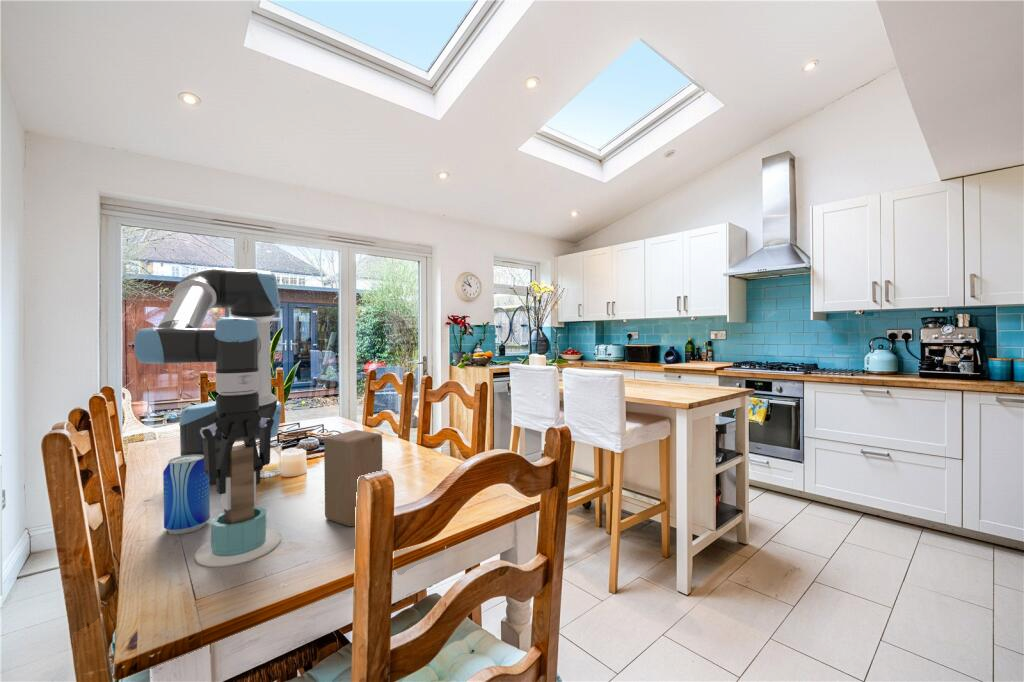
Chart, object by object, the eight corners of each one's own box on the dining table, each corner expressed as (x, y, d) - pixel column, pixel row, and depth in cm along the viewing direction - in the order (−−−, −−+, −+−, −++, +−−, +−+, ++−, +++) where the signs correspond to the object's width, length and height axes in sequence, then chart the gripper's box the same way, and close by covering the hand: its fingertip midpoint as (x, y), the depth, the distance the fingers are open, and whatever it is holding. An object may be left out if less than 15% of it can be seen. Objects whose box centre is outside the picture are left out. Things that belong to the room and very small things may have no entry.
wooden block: (384, 513, 106) (383, 433, 106) (350, 529, 97) (350, 442, 97) (357, 505, 111) (356, 428, 111) (323, 519, 102) (322, 436, 102)
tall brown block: (224, 520, 88) (223, 448, 88) (245, 513, 92) (244, 444, 91) (232, 525, 86) (232, 451, 86) (254, 518, 89) (253, 447, 89)
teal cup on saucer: (183, 551, 87) (182, 519, 87) (261, 524, 99) (260, 496, 99) (212, 575, 79) (212, 540, 78) (294, 543, 91) (293, 512, 91)
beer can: (172, 522, 101) (171, 455, 100) (214, 517, 104) (213, 451, 103) (157, 538, 93) (156, 465, 93) (203, 532, 96) (202, 461, 96)
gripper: (195, 399, 79) (197, 523, 80) (288, 389, 93) (289, 495, 93) (181, 395, 84) (183, 514, 84) (272, 387, 98) (273, 488, 98)
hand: (239, 504), depth 89 cm, fingers closed on tall brown block, 4 cm apart
